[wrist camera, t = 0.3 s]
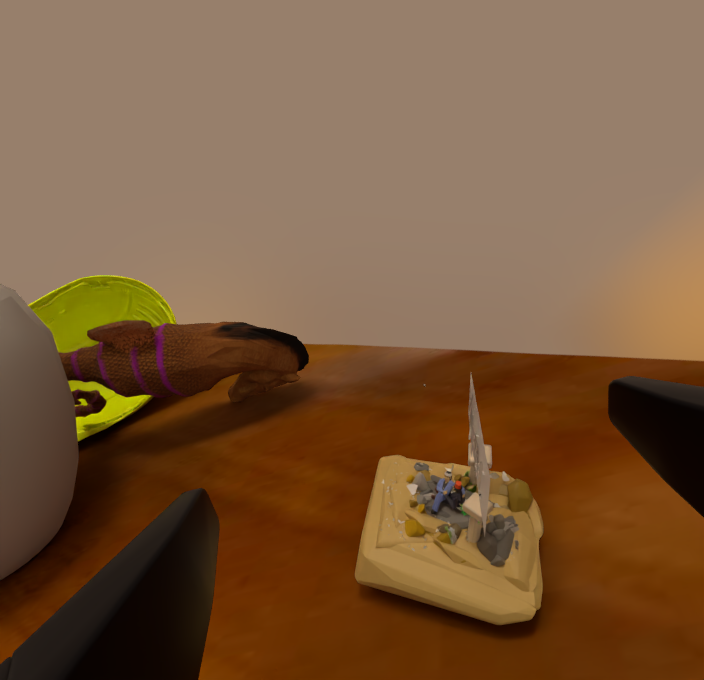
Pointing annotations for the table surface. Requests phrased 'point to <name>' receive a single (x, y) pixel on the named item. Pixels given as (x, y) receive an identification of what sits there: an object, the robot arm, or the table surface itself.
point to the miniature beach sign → (454, 535)
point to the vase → (32, 435)
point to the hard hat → (93, 311)
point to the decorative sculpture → (181, 360)
